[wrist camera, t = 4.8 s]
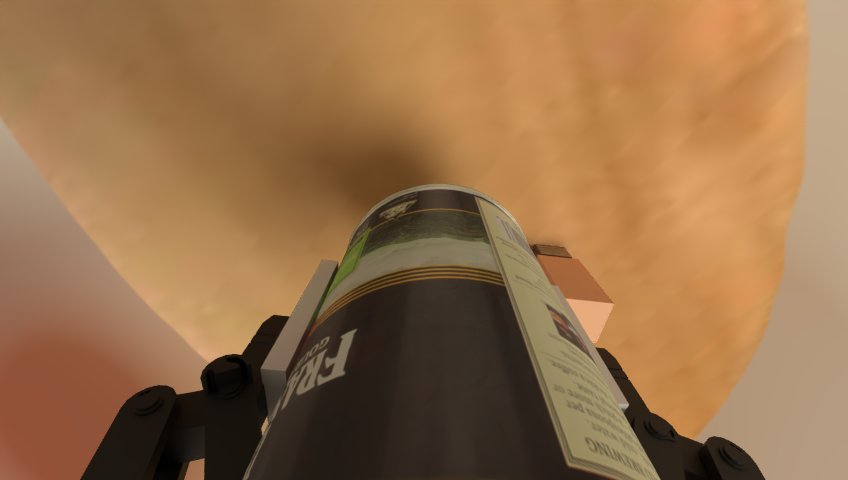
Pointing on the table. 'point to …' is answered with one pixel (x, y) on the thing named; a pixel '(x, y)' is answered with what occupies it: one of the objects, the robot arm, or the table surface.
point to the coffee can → (445, 361)
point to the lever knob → (579, 292)
